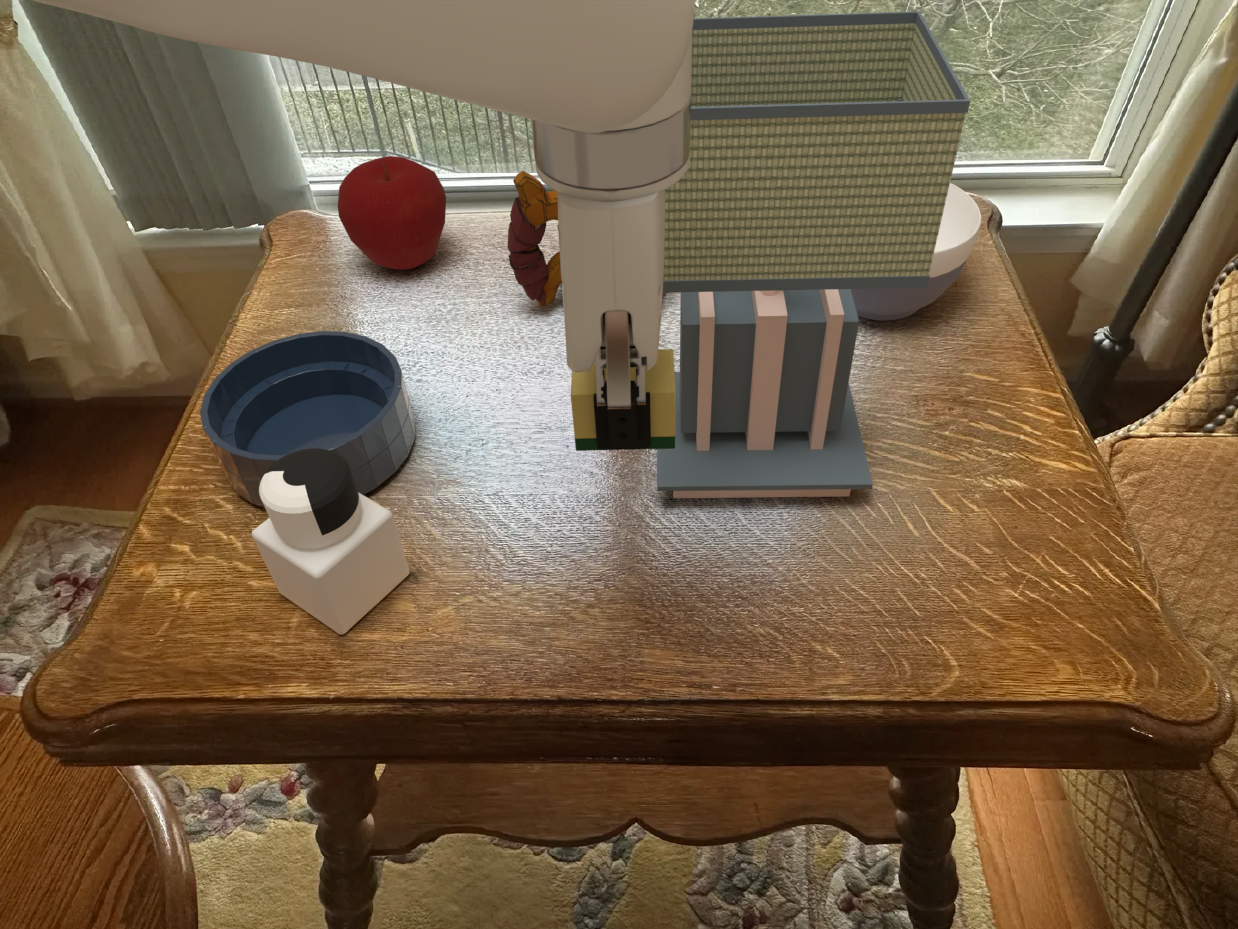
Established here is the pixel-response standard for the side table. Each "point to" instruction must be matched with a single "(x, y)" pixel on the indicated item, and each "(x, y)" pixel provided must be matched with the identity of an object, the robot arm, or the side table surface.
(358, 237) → the apple
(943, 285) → the bowl
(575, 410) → the sponge
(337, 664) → the side table surface
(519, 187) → the mug
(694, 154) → the desk lamp
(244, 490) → the bowl
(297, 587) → the medicine bottle
